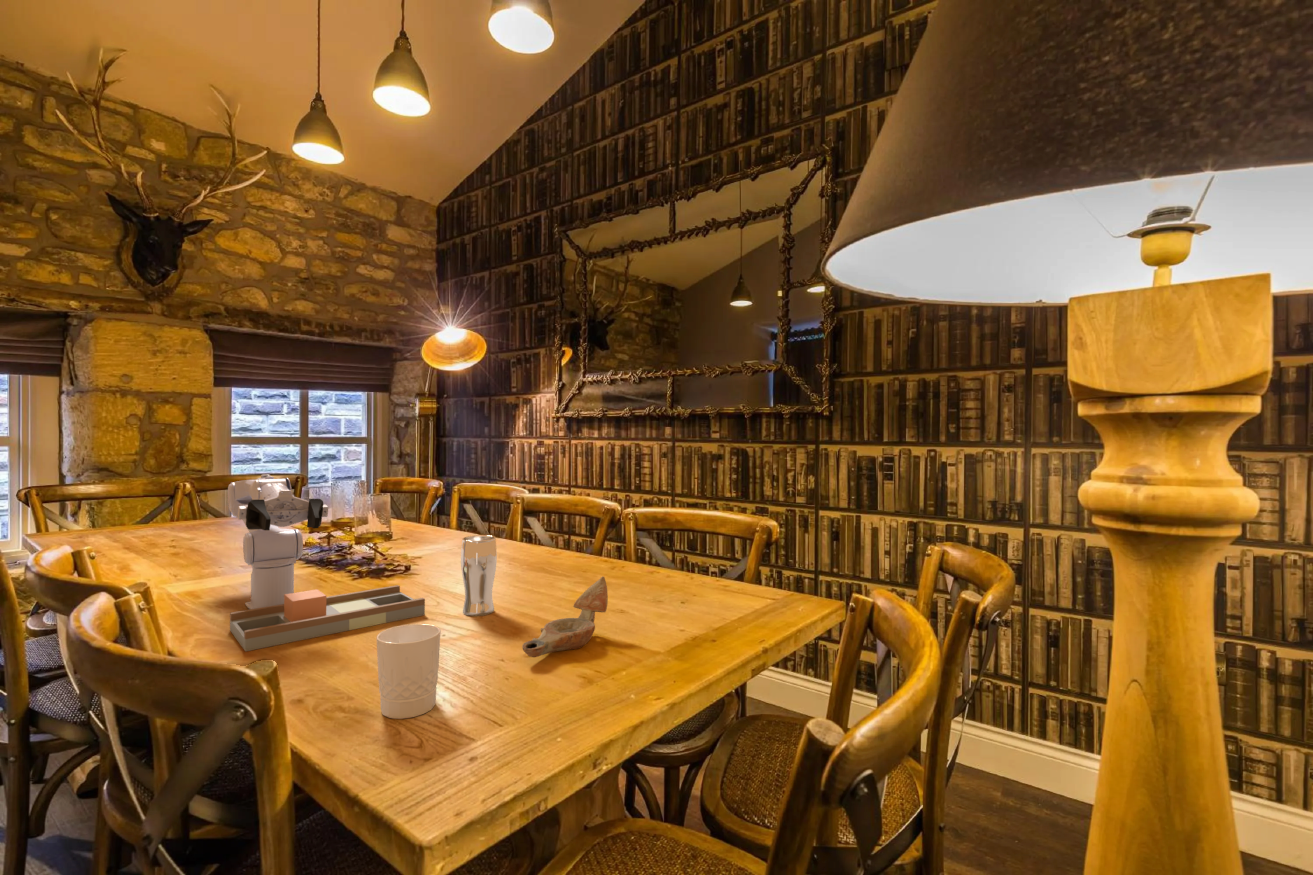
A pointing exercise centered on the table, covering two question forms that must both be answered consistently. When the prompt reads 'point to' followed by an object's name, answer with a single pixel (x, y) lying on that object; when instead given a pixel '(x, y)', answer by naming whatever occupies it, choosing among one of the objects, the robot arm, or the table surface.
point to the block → (304, 605)
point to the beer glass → (478, 573)
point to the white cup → (408, 669)
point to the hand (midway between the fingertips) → (293, 523)
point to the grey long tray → (324, 617)
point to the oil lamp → (571, 624)
